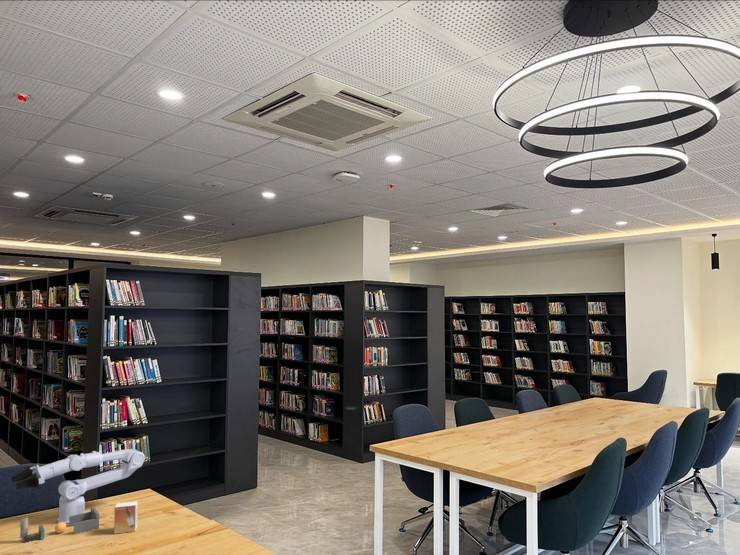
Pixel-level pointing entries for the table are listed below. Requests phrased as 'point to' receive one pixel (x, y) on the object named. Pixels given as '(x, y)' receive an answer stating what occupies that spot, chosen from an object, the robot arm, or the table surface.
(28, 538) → the track
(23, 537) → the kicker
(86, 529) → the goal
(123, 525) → the small box
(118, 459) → the robot arm
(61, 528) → the ball
